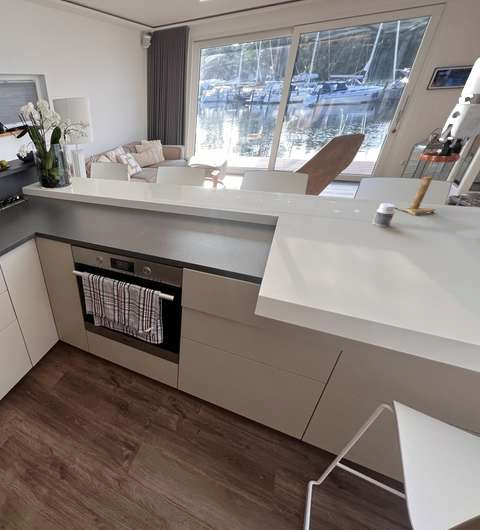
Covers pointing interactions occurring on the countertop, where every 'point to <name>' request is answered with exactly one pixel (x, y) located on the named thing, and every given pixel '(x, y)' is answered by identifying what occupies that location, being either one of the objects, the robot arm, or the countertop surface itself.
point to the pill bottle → (384, 215)
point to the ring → (438, 157)
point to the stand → (420, 198)
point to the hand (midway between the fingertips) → (447, 157)
